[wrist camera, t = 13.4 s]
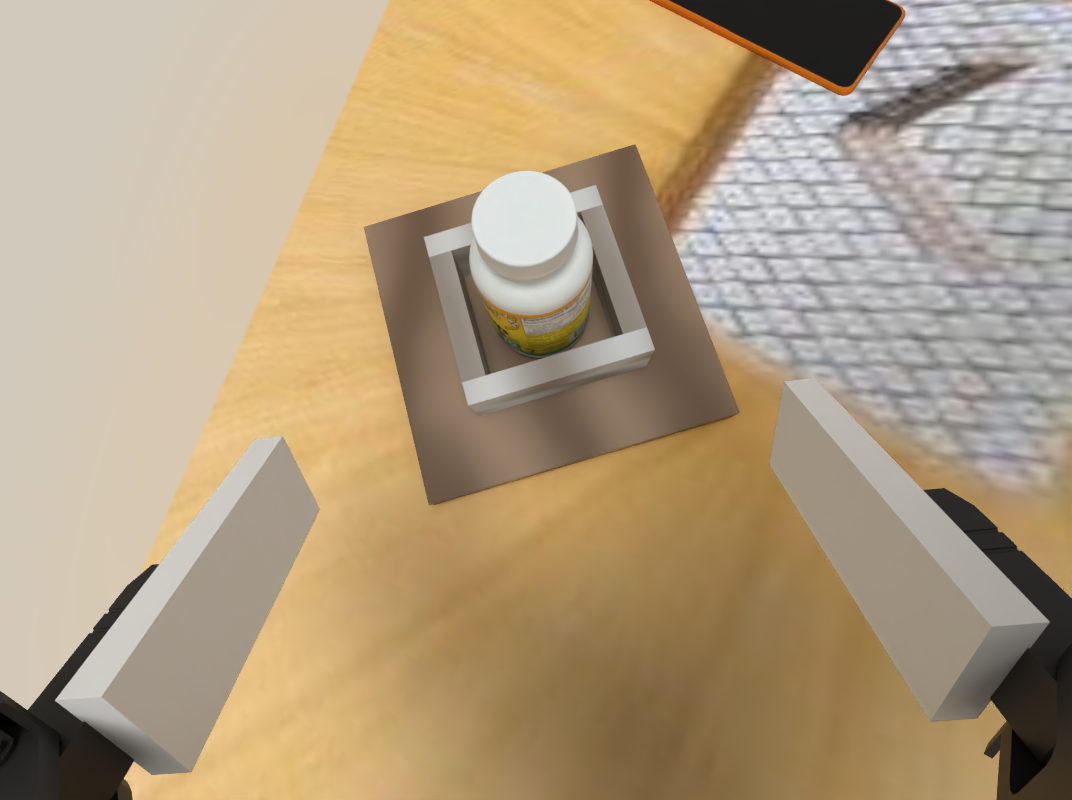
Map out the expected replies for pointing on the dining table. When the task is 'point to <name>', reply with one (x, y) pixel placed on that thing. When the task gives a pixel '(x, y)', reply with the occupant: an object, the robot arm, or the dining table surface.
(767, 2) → the smartphone
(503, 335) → the supplement bottle
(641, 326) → the square framed base tray
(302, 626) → the dining table surface
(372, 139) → the dining table surface
